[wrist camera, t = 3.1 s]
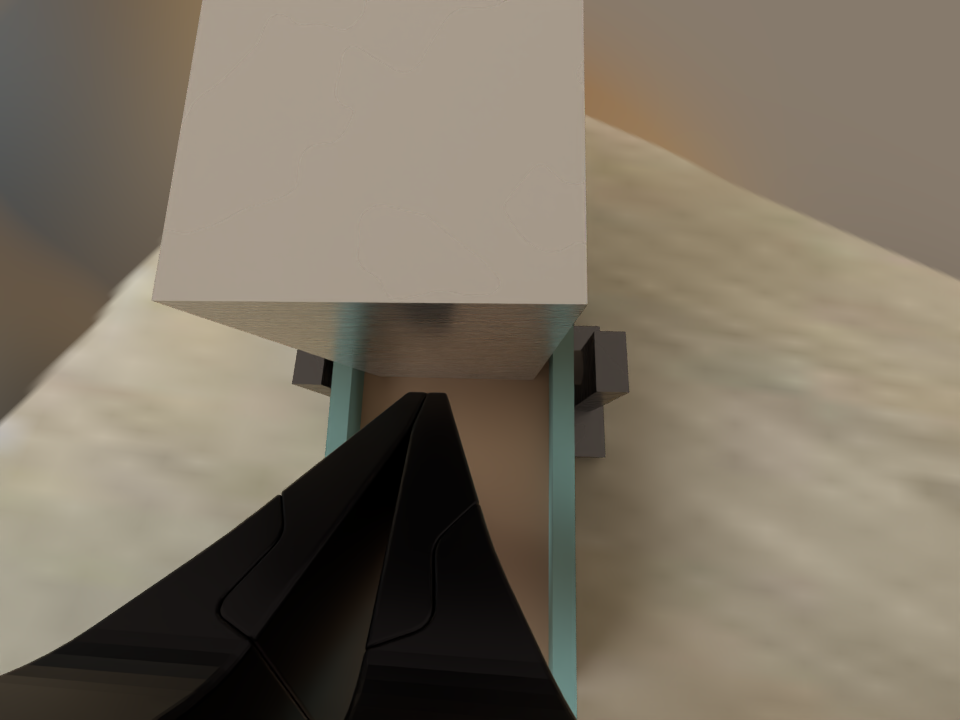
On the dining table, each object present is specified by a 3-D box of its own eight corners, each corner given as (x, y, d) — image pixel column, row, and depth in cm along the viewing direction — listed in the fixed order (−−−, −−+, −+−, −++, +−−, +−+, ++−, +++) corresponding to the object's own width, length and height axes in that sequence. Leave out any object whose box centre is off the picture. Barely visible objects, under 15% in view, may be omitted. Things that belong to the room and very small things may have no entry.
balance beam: (570, 733, 14) (603, 897, 9) (344, 713, 14) (265, 857, 9) (566, 99, 17) (588, -16, 13) (390, 104, 18) (350, -4, 13)
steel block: (533, 380, 12) (587, 304, 4) (379, 376, 12) (151, 300, 4) (534, 232, 13) (581, -74, 5) (389, 233, 13) (211, -51, 5)
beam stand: (600, 457, 17) (650, 458, 11) (344, 447, 18) (267, 444, 12) (595, 331, 18) (637, 275, 13) (358, 328, 19) (296, 274, 14)
